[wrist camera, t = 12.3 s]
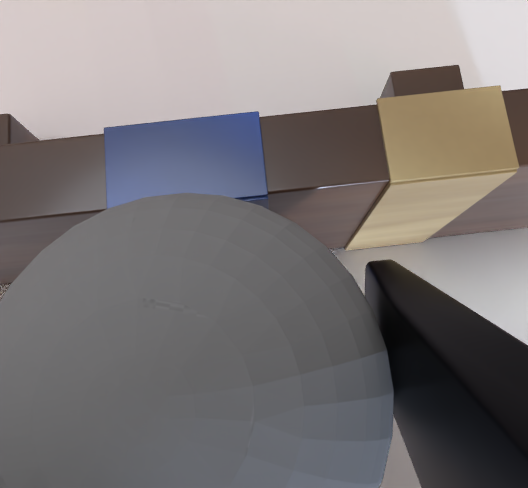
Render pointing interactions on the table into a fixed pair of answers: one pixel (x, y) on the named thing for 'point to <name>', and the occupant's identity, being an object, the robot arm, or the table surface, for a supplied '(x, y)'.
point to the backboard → (291, 167)
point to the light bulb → (191, 356)
